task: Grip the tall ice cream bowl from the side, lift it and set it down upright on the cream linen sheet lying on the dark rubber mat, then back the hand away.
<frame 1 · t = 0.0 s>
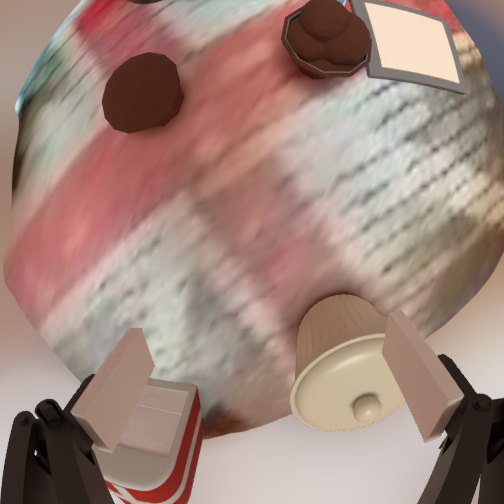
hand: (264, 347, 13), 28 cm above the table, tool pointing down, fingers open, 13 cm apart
striped arched panel rack: (167, 404, 54), on the table
canister: (335, 323, 45), on the table
mat: (411, 43, 29), on the table
muffin: (156, 100, 35), on the table
sheet: (415, 41, 28), on the mat, point 1 cm above the table
ice cream bowl: (315, 63, 32), on the table
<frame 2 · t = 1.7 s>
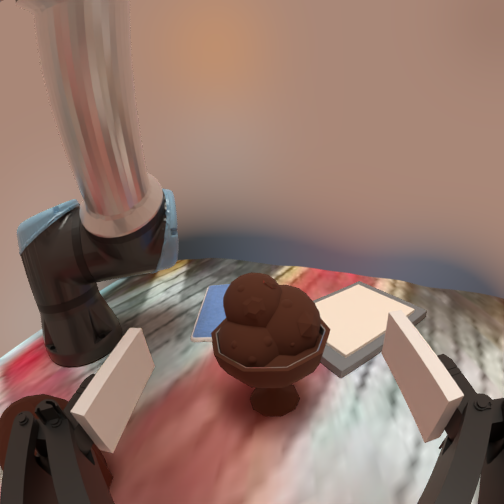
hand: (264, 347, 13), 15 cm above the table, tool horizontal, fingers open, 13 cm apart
mat: (353, 321, 40), on the table
muffin: (77, 478, 15), on the table
tablet computer: (234, 312, 49), on the table
sheet: (353, 314, 39), on the mat, point 1 cm above the table
ice cream bowl: (274, 399, 27), on the table
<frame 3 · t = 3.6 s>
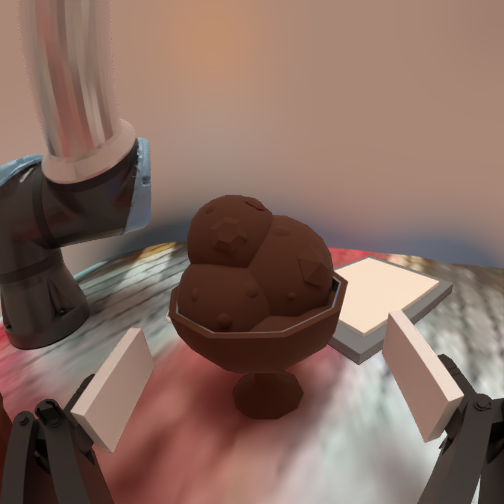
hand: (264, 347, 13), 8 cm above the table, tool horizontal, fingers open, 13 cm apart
mat: (366, 297, 32), on the table
muffin: (6, 480, 7), on the table
sheet: (367, 287, 32), on the mat, point 1 cm above the table
ice cream bowl: (267, 395, 20), on the table
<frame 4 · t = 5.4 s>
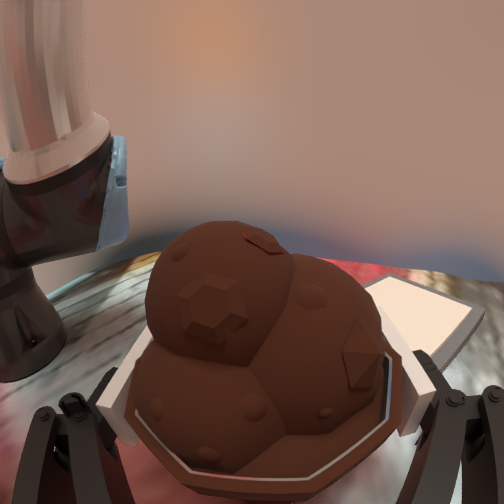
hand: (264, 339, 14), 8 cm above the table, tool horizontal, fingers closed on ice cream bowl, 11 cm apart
mat: (390, 329, 25), on the table
sheet: (392, 318, 25), on the mat, point 1 cm above the table
ice cream bowl: (273, 472, 13), on the table, touching gripper
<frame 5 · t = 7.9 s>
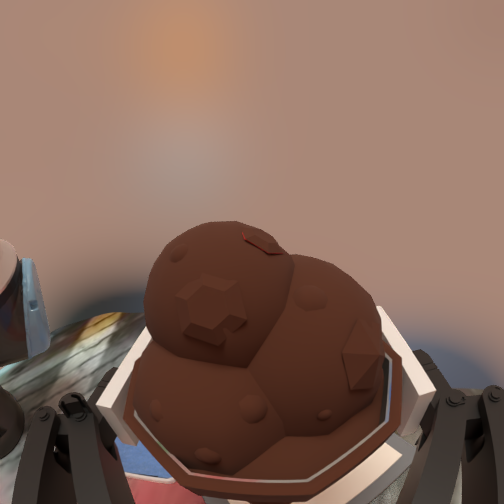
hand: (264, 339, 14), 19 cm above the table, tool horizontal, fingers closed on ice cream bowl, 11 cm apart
mat: (301, 470, 21), on the table
tablet computer: (144, 421, 29), on the table
sheet: (301, 465, 20), on the mat, point 1 cm above the table
ice cream bowl: (272, 473, 13), point 11 cm above the table, touching gripper
when the fingers open (11 cm above the table, at t = 10.4 s): ice cream bowl drops 1 cm, resting on sheet.
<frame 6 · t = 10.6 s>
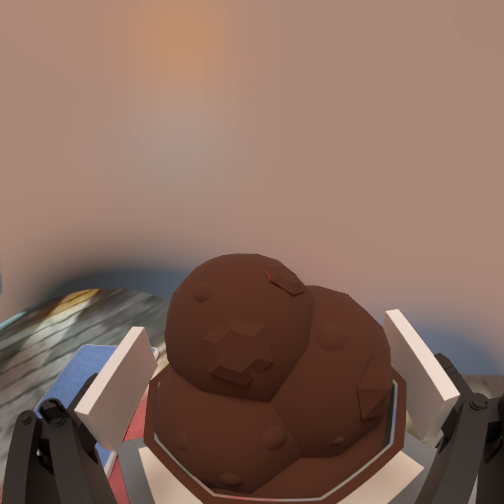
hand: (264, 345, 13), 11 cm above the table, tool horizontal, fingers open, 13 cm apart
mat: (274, 486, 14), on the table
tablet computer: (91, 403, 22), on the table
sheet: (273, 479, 13), on the mat, point 1 cm above the table
ice cream bowl: (276, 480, 13), point 2 cm above the table, touching sheet
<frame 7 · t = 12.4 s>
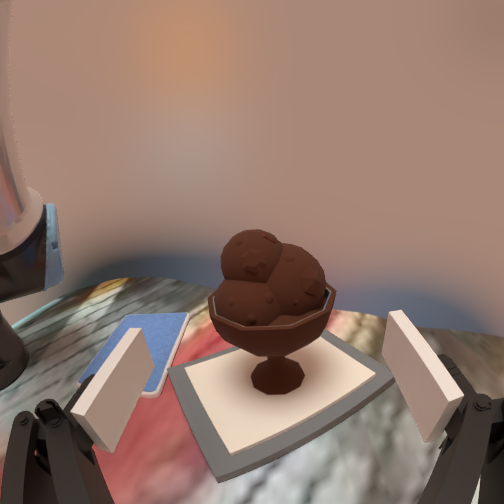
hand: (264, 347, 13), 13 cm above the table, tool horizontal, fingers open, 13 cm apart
mat: (276, 386, 26), on the table
tablet computer: (139, 353, 35), on the table
sheet: (276, 377, 26), on the mat, point 1 cm above the table
ice cream bowl: (277, 377, 26), point 2 cm above the table, touching sheet
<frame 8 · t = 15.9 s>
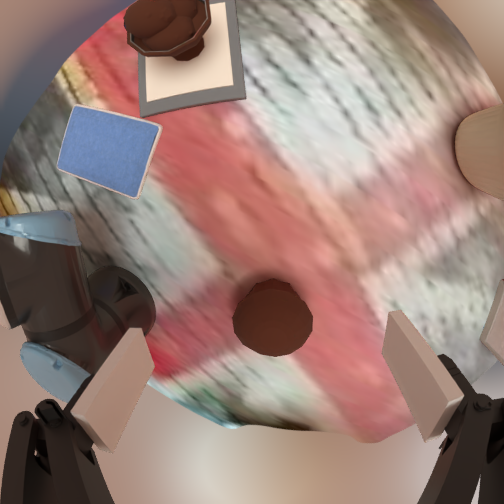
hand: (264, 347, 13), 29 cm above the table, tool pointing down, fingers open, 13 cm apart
canister: (473, 151, 34), on the table
mat: (188, 51, 33), on the table
muffin: (272, 302, 45), on the table
tablet computer: (105, 148, 39), on the table
sheet: (185, 47, 31), on the mat, point 1 cm above the table
ice cream bowl: (187, 46, 31), point 2 cm above the table, touching sheet
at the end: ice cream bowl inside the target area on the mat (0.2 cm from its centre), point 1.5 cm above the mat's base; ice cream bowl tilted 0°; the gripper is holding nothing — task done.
